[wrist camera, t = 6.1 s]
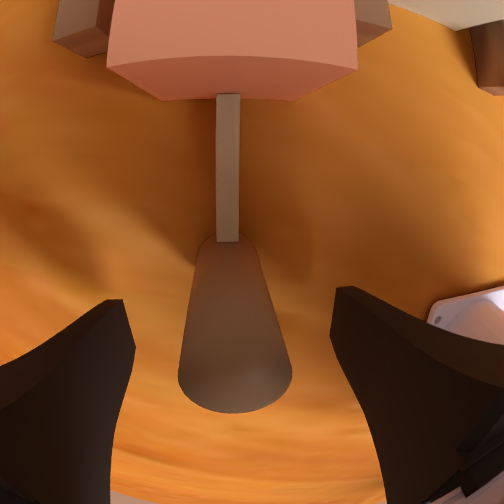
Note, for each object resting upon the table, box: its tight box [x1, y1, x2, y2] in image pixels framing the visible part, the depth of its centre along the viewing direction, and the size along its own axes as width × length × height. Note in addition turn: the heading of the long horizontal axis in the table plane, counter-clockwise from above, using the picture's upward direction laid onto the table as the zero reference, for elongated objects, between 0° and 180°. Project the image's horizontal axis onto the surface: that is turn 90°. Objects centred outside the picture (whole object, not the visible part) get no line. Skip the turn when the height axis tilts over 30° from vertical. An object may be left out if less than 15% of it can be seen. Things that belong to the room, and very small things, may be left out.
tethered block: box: [106, 0, 358, 413], centre depth 6 cm, size 11×4×6 cm, turn 179°
